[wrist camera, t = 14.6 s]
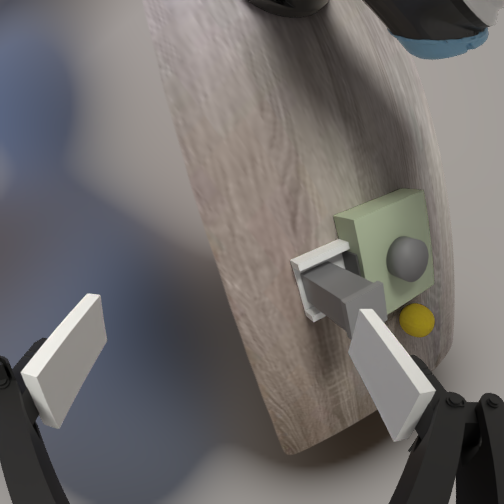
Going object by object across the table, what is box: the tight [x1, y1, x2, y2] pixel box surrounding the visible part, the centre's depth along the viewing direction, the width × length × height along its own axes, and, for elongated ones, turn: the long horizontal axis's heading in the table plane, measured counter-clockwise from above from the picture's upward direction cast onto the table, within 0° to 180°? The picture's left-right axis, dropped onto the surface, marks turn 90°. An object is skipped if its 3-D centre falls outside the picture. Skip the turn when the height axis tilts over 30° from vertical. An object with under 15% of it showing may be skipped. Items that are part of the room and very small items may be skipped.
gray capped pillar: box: [300, 261, 388, 340], centre depth 38 cm, size 5×5×12 cm
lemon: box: [399, 303, 435, 337], centre depth 47 cm, size 6×6×8 cm
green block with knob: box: [290, 188, 434, 322], centre depth 42 cm, size 22×16×8 cm
